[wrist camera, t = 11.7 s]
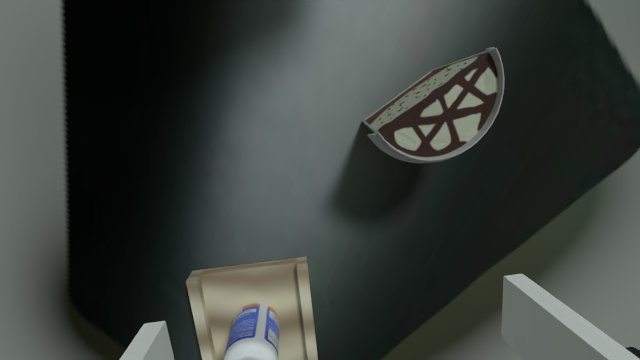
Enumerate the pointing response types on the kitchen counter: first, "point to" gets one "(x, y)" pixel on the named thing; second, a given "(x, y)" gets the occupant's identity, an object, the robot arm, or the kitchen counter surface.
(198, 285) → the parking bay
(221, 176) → the kitchen counter surface
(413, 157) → the food container
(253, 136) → the kitchen counter surface
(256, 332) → the pill bottle
